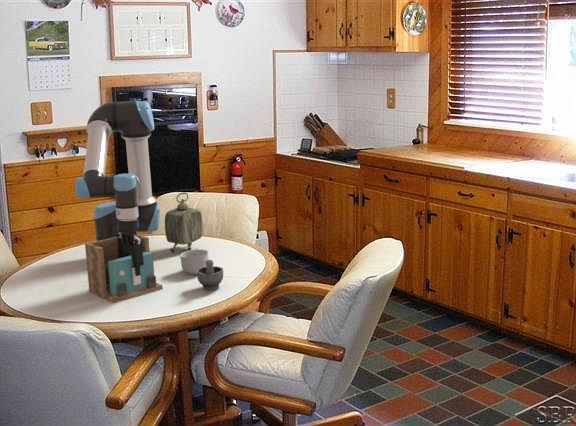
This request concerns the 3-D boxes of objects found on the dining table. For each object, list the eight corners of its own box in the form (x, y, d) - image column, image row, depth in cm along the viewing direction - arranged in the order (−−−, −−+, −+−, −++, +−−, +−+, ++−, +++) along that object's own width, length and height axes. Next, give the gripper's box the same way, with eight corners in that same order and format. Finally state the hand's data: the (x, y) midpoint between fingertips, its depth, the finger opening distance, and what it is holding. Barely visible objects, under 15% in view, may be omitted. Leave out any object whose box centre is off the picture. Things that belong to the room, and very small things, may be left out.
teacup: (204, 277, 285) (203, 257, 283) (177, 276, 287) (175, 256, 285) (215, 266, 298) (214, 247, 296) (189, 265, 300) (187, 246, 298)
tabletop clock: (189, 244, 330) (186, 188, 325) (205, 247, 325) (202, 190, 320) (166, 252, 319) (162, 194, 313) (182, 255, 314) (178, 197, 308)
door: (110, 293, 264) (107, 261, 262) (149, 283, 275) (147, 251, 272) (118, 297, 261) (115, 263, 258) (157, 286, 271) (154, 254, 269)
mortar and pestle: (197, 284, 276) (196, 253, 274) (223, 283, 277) (222, 251, 274) (197, 294, 265) (195, 262, 263) (224, 293, 266) (222, 260, 264)
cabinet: (89, 291, 272) (84, 243, 268) (137, 278, 285) (133, 232, 281) (113, 302, 259) (109, 252, 255) (162, 288, 273) (159, 240, 269)
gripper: (104, 216, 266) (109, 279, 272) (132, 224, 253) (137, 290, 259) (123, 212, 271) (128, 274, 277) (151, 220, 258) (156, 285, 263)
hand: (132, 282), depth 268 cm, fingers open, 5 cm apart
